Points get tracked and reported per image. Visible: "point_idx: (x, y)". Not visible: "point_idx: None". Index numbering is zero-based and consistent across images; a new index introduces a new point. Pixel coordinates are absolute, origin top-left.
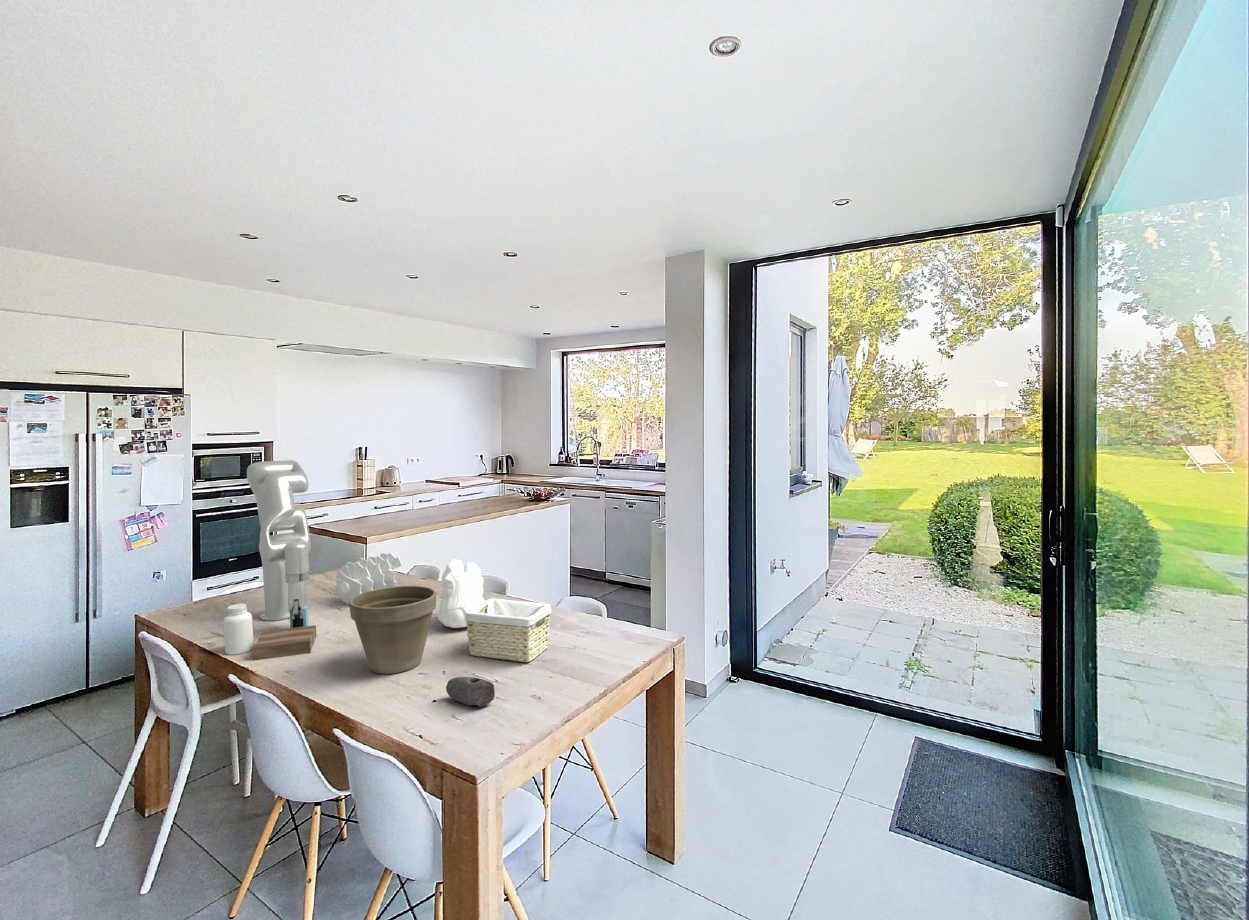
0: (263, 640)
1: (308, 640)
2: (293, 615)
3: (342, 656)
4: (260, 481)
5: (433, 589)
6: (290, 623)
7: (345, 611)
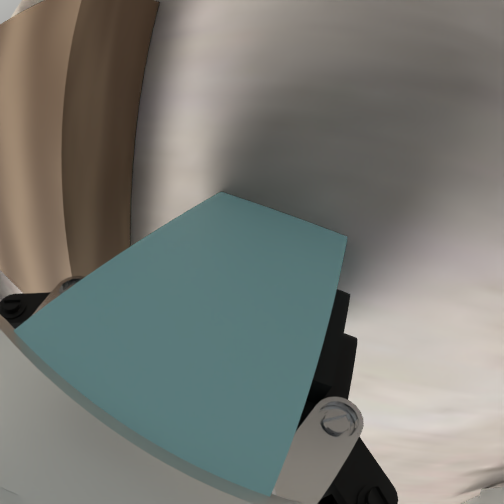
0: None
1: None
2: (6, 298)
3: (4, 280)
4: None
5: None
6: (148, 235)
7: (442, 479)
